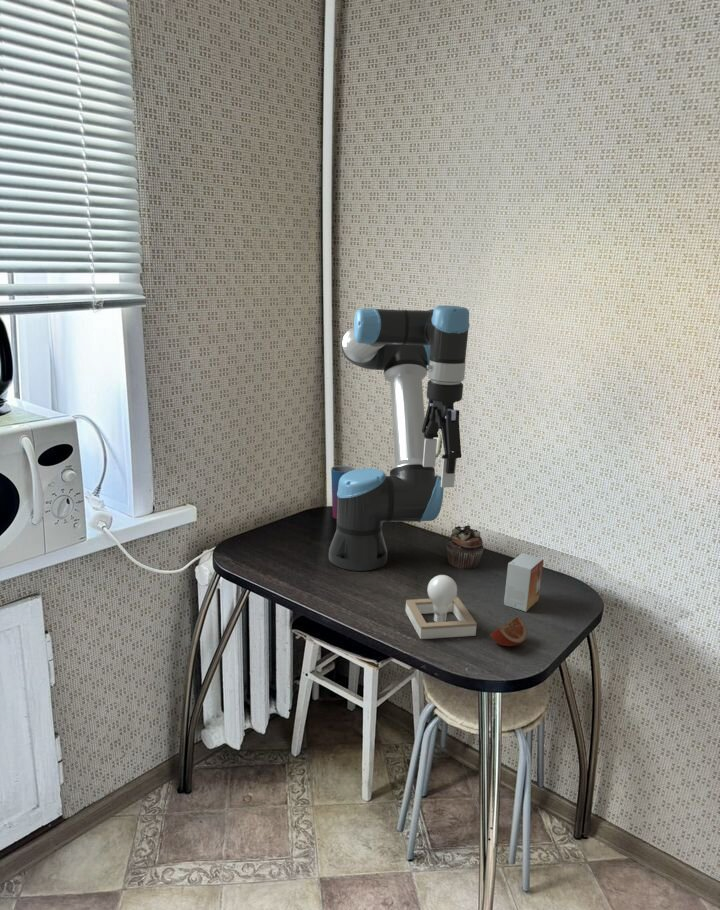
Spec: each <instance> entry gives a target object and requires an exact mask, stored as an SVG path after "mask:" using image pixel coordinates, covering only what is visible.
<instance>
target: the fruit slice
mask: <svg viewBox="0 0 720 910" xmlns="http://www.w3.org/2000/svg"><path fill="white" fill-rule="evenodd" d="M489 635H490V638H491V639H492V640H493V641H494V642H495V643H496V644H498V645H500V646H503V647H504V646H505V647H514V646H518V645H521V644H522V643H524V641H525V640H526V638H527V637H528V630H527V627H526V624H525V622H524V620H523V619H522V617H521V615H518V616H516V617H514V618H512V619H511V620H509V621H508V622H507V623H504V624H503V625H501V626H500V627H498V628H497V629H495V630H494V631H492V633H490V634H489Z"/></svg>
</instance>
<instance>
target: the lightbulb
mask: <svg viewBox="0 0 720 910" xmlns="http://www.w3.org/2000/svg"><path fill="white" fill-rule="evenodd" d="M426 591H427V595H428V599H431V601H432V603H433V608H434V613H433V621H434V622H447V613H448V612H447V611H448V609H449V606H450V604H451V603H452V602H453V601H454V599H455V598H456V597H458V585H457V583H456V581H455V580H454V579H453V578H452V577H450V575H449V576H448V575H447V574H438V575H436V576H435V575H434V577H433V578H431V579H430V581H429V582H428V584H427V589H426Z"/></svg>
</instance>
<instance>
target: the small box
mask: <svg viewBox="0 0 720 910" xmlns="http://www.w3.org/2000/svg"><path fill="white" fill-rule="evenodd" d="M544 561H545V560H544V559H543V558H541V557H538V556H534V555H531V554H527V553H523V552H521V553H519V555H518V556H516V557H515V558H513V559H512V560H511V561H509V562H508V564H507V571H506V581H505V589H504V599H503V600H504V601H503V605H504V606H506V607H510V608H513V609H516V610H519V611H523V612H525V613H526V612H527V611H529V609H531V607H532V606H534V605H535V604H536V603H537V602H538V601H539V600H540V592H541V591H540V590H541V586H542V585H541V584H542V576H543V567H544Z"/></svg>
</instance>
